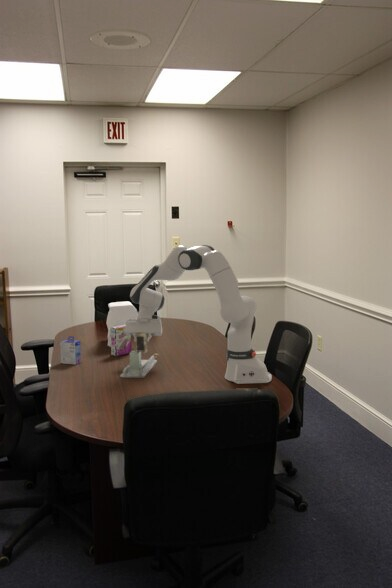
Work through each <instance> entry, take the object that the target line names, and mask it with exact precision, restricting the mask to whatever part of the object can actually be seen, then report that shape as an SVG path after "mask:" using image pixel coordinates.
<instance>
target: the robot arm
mask: <svg viewBox="0 0 392 588" xmlns="http://www.w3.org/2000/svg"><path fill="white" fill-rule="evenodd" d="M201 269H204V270H206V272H207V274H208V276H209V278H210V280H211V282H212V285H213V286H214V289H215V290H216V293H217V295H218V299H219V304H220V313H219V314H220V317H221V319H222V320H223V321H224V322H225V323H228V324H230V325H229V328H228V331H227V349H226V361H227V362H226V363H227V364H226V371H225V374H224V379H225V380H227V381H229V382H234V383H235V384H238V385H240V384H242V385H243V384H267V383H270V382H271V381H272V380H273V377H272V374H271V373H270V372H268V369H267V366H266V364H265V363H264V362H263V361H261V360H260V359H259V358H258V357H256V356H257V352H256V350H255V349H252V345H251V344H252V328H253V324H254V318H255V312H256V309H257V302H256V300H255V299H254V298H253V297H251V296H248V295H241V293H240V290H239V289H240V288H239V281H238V278H237V276H236V274H235V272H234V270H233V268H232V267H231V265H230V263H229V261H228V260H227V258H226V257H225V255H224V254H223V253H222V252H221V251H220V250H215V248H214V247H213V246H211V245H207V244H202V245H196V246H192V247H187V246H185V245H180V244H179V245H177V246H175V247H174V248H173V250H171V252H170V253H169V254H168V255H167V257H166V259H164V261H163V262H161V263H160V264H155V265H154V266H152V267H151V268H150V270H148V272H146V274H145V275H144V276H143V278H142V279H141V280H140V281H139V282H138V283H136V284H135V285H134V286H133V288H132V289H131V290H130V294H129V298H130V300H131V303H134V304H137V305H139V308H138V309H139V310H138V311H137V312H138V316H137V319H133V320H132V319H129V320H128V321H126V326H125V329H124V333H125V334H126V335H131V336H133V338H134V340H133V342H134V343H136V334H137V333H147V338H146V340H145V342H147V343H149V342H150V340H151V339H152V337H160V336H161V337H162V335H163V326H162V318H161V317H160V316H159V315H156V314H155V313H156V312H158V311H160V310H161V309H162V308H163V307H164V305H165V297H164V296H165V295H164V294H163V293H162V292H159V291H157V290H154V289H151V288H149V286H150V285H151V284H152V283H153V282H154V281H160V280H161V281H175V280H178V279H179V278H180V277H181V276H182V275H183V274H184V273H185V271H195V270H201Z"/></svg>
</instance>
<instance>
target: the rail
mask: <svg viewBox="0 0 392 588" xmlns="http://www.w3.org/2000/svg"><path fill="white" fill-rule="evenodd" d="M155 358H156V357H155V355H151V356H150V357H149V358H148V359H142V354H141V351H136V350H131V352H130V353H129V363H128V365H126V366H125V367H124V369H123V370H122V373H121V374H120V375H119V376H120V378H129V379H130V378H133V379H134V378H135V379H136V378H137V379H138V378H139V379H142V378H143V379H145V378H146V376H147V375H148V374H149V373H150V372H151V370H152V369H153V367H154V366H155V365H156V364H157V362H158V360H157V359H155Z"/></svg>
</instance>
